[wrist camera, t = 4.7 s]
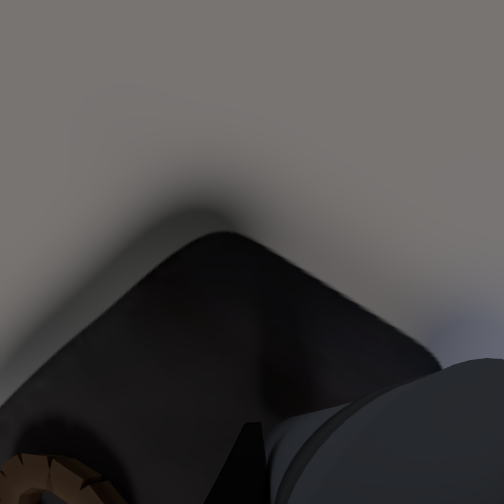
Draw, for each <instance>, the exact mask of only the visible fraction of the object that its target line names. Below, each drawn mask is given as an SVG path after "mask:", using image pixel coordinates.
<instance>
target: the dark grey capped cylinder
mask: <svg viewBox="0 0 504 504" xmlns="http://www.w3.org/2000/svg"><path fill="white" fill-rule="evenodd" d="M264 447H265V455H266V464H267V474H268V489H269V495H270V500H271V504H504V360H503V359H492V358H485V359H476V360H469V361H466V362H462V363H458V364H455V365H452V366H450V367H448V368H445V369H443V370H441V371H438V372H436V373H433V374H427V375H422V376H418V377H413V378H410V379H408V380H405V381H402V382H399V383H397V384H394V385H391V386H389V387H386V388H383V389H380V390H378V391H375V392H372V393H370V394H368V395H366V396H364V397H361V398H359V399H357V400H355V401H354V402H350V403H347V404H343V405H340V406H336V407H332V408H328V409H324V410H320V411H316V412H312V413H308V414H303V415H299V416H294V417H290V418H287V419H285V420H283V421H281V422H280V423H278V424H277V425H276V426H274V427H273V428H272V429H271V431H270V432H269V433H268V435H267V437H266V438H265V441H264Z"/></svg>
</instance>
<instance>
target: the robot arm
mask: <svg viewBox="0 0 504 504" xmlns="http://www.w3.org/2000/svg"><path fill="white" fill-rule="evenodd" d="M204 504H270V495H269V489H268V474H267V464H266V455H265V447H264V440H263V433H262V426H261V423H260V422H254V423H246V424H245V425H244V426H243V428H242V430H241V432H240V434H239V436H238V438H237V440H236V442H235V444H234V446H233V448H232V450H231V452H230V454H229V456H228V458H227V460H226V462H225V464H224V466H223V468H222V470H221V472H220V474H219V476H218V478H217V480H216V482H215V483H214V485H213V487H212V489H211V491H210V493H209V495H208V497H207V498H206V500H205V502H204Z"/></svg>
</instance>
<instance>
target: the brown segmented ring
mask: <svg viewBox="0 0 504 504" xmlns="http://www.w3.org/2000/svg"><path fill="white" fill-rule="evenodd" d="M1 468H2V470H3V471H0V504H39V503H40V498H41V494H42V492H43V491H45V490H50V491H51V492H52V493H54V494H55V495H57V496H58V497H59V498H61V499H62V500H64V501H65V502H67V503H68V504H128V503H127V502H126V501H125V500H124V498H123V497H122V496H121V495H120V494H119V493H118V491H117V490H116V489H115V488H114V486H113V485H112V484H111V483H110V481H109V480H107V481H103V482H101V480H102V476H103V475H102V474H100V473H98V472H96V471H95V470H93V469H91V468H90V467H88V466H86V465H85V464H83V463H82V462H80V461H78V460H77V459H75V458H69V456H60V455H48V454H25V453H21V455H19V454H17V455H15V456H14V457H13V458H11V459H10V460H9V461H8V462H6V463H5V464H4V465H2V466H1Z"/></svg>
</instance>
